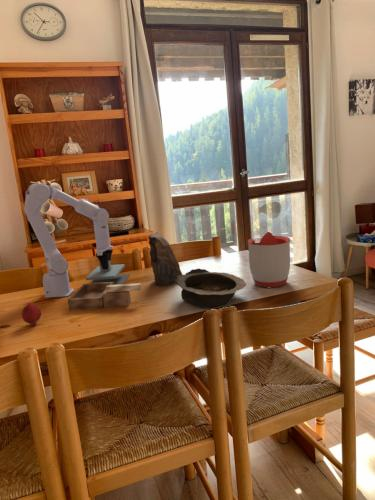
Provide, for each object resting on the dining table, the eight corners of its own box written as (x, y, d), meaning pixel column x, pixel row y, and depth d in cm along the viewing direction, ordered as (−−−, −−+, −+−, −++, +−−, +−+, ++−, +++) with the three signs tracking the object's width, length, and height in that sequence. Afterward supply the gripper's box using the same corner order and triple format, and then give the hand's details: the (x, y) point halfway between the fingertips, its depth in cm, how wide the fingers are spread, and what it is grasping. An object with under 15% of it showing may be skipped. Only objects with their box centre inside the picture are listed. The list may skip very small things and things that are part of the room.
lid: (86, 280, 158) (84, 268, 157) (98, 268, 176) (96, 257, 175) (115, 278, 158) (113, 266, 156) (124, 266, 175) (123, 255, 174)
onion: (31, 329, 124) (27, 305, 122) (20, 326, 127) (15, 303, 125) (46, 322, 129) (42, 299, 127) (35, 320, 132) (31, 297, 130)
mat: (83, 291, 158) (83, 290, 158) (97, 276, 178) (97, 275, 178) (120, 288, 157) (120, 288, 157) (130, 274, 177) (130, 273, 177)
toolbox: (69, 310, 138) (67, 297, 137) (85, 293, 155) (83, 281, 154) (128, 307, 136) (126, 293, 135) (137, 290, 154) (136, 278, 153)
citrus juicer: (271, 273, 161) (269, 225, 157) (300, 284, 146) (299, 231, 141) (239, 281, 155) (236, 231, 150) (265, 293, 139) (263, 237, 135)
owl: (161, 288, 154) (156, 238, 150) (142, 282, 163) (136, 235, 159) (184, 280, 162) (180, 232, 158) (165, 275, 171) (160, 230, 167)
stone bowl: (164, 296, 143) (163, 272, 142) (224, 288, 153) (224, 265, 151) (191, 318, 121) (191, 289, 119) (260, 306, 131) (261, 279, 129)
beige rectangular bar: (106, 292, 138) (105, 286, 137) (108, 290, 140) (107, 285, 139) (140, 290, 137) (139, 284, 136) (141, 288, 139) (140, 283, 138)
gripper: (107, 239, 156) (111, 272, 159) (115, 232, 170) (119, 262, 173) (89, 240, 156) (94, 273, 159) (99, 233, 170) (103, 263, 173)
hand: (106, 268), depth 166 cm, fingers closed on lid, 3 cm apart
